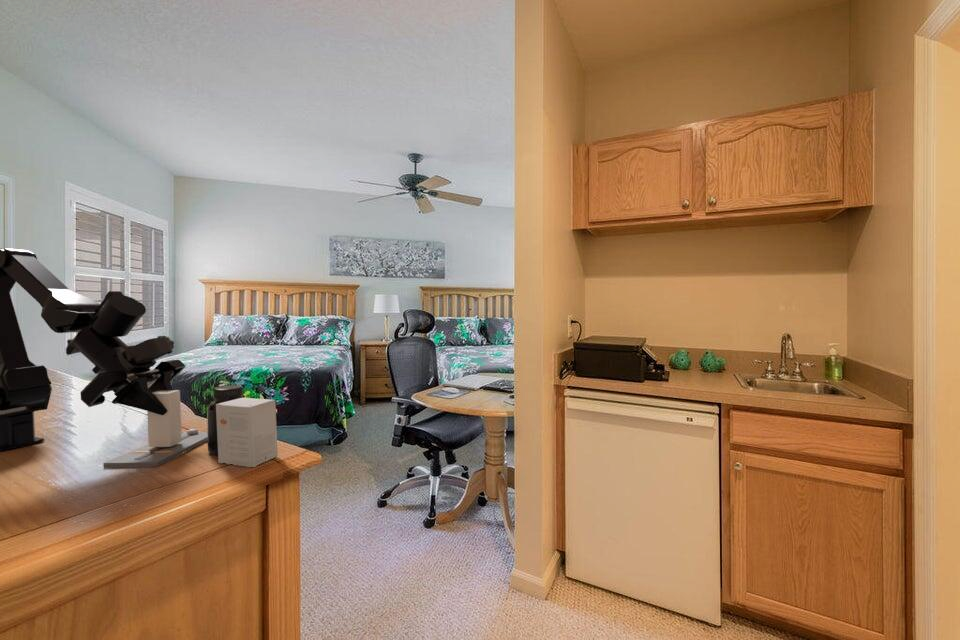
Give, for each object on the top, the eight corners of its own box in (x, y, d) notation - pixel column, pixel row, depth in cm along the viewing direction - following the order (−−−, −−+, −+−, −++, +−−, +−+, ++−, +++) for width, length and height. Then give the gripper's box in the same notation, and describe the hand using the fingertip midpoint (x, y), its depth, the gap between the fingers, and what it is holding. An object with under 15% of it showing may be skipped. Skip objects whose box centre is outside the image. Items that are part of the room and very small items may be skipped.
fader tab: (160, 441, 81) (158, 390, 80) (181, 441, 81) (179, 390, 80) (148, 447, 78) (146, 393, 77) (170, 446, 78) (168, 393, 77)
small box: (278, 457, 75) (276, 399, 75) (252, 468, 70) (250, 406, 70) (244, 452, 78) (243, 396, 77) (217, 463, 73) (215, 403, 72)
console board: (174, 436, 88) (174, 428, 88) (217, 435, 88) (217, 428, 88) (103, 467, 71) (103, 458, 71) (157, 466, 71) (156, 457, 71)
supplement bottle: (230, 457, 75) (228, 391, 75) (198, 455, 77) (196, 390, 76) (258, 444, 82) (256, 384, 82) (228, 442, 83) (226, 383, 83)
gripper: (95, 325, 69) (165, 390, 70) (174, 321, 87) (229, 372, 88) (48, 373, 69) (119, 438, 70) (137, 358, 87) (192, 410, 88)
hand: (171, 410), depth 79 cm, fingers closed on fader tab, 3 cm apart
